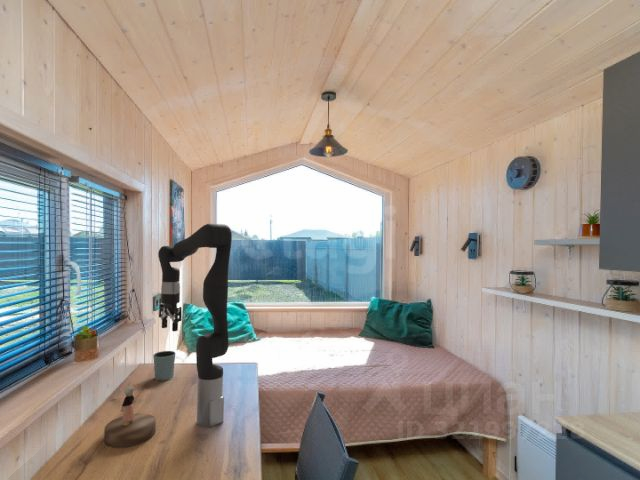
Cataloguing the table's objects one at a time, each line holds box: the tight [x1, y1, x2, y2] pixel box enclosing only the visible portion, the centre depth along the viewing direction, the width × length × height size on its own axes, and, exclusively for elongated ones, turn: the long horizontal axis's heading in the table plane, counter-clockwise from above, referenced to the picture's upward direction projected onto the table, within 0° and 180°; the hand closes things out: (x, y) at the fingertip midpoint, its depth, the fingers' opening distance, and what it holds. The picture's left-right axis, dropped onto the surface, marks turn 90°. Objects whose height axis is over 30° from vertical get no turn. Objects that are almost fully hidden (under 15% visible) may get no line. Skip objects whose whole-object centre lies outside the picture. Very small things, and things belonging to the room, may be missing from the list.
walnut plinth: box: [103, 412, 157, 449], centre depth 130 cm, size 16×16×4 cm
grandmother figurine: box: [120, 385, 136, 426], centre depth 131 cm, size 8×4×13 cm, turn 8°
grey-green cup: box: [152, 350, 176, 382], centre depth 185 cm, size 10×10×12 cm
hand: (169, 329), depth 160 cm, fingers open, 8 cm apart
